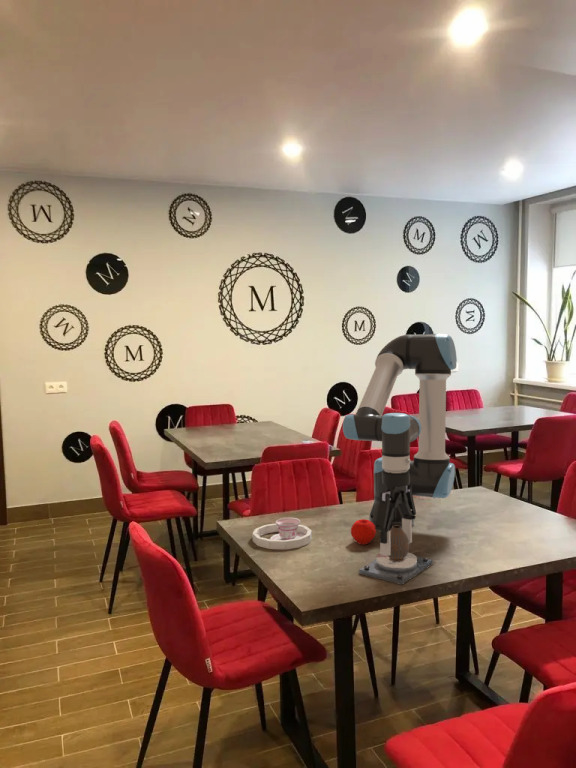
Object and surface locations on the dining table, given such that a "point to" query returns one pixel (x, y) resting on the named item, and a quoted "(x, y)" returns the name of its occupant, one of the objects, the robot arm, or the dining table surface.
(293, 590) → the dining table surface
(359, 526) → the apple
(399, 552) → the vase
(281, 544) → the saucer ring
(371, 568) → the duct flange
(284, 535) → the teacup
